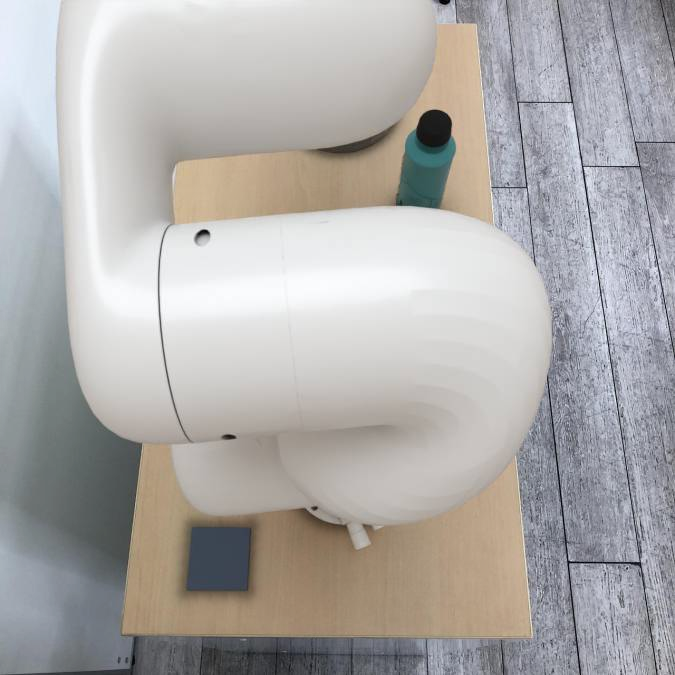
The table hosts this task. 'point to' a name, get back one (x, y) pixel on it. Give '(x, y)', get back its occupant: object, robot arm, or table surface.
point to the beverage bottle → (427, 161)
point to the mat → (219, 558)
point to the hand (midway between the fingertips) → (306, 105)
